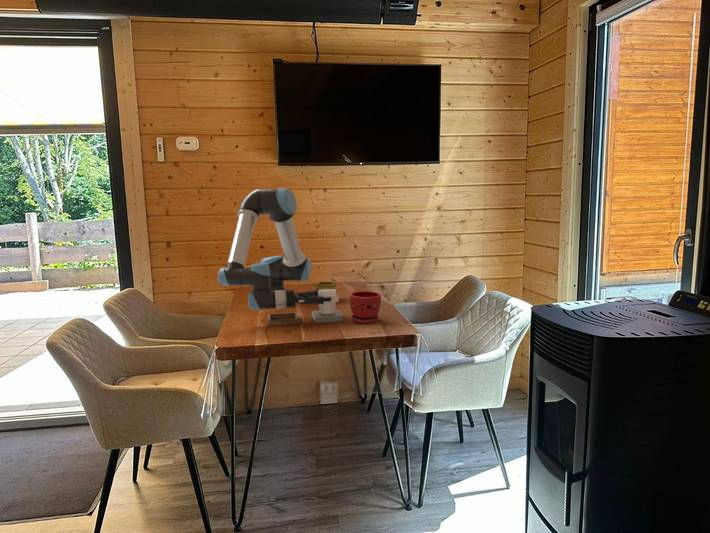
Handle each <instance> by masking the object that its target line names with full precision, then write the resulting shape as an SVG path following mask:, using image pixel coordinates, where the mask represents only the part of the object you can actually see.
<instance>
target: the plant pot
mask: <svg viewBox="0 0 710 533" xmlns="http://www.w3.org/2000/svg"><path fill="white" fill-rule="evenodd" d="M381 300H382V295H381V293H380V292H376V291H372V290H371V291H370V290H365V291H361V290H360V291H359V290H358V291H353V292H351V293H350V294H349V306H350V310H351V313H352V315H351V316H350V319H351V321H353V322H355V323H357V324H358V323H359V324H371V323H375V322H377V321H378V320H379V315H378V314H379V312H380V309H381Z"/></svg>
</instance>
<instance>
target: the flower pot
mask: <svg viewBox="0 0 710 533" xmlns="http://www.w3.org/2000/svg"><path fill="white" fill-rule="evenodd" d="M336 286H337V282H336V281H319V282H316V283H315V290H316V291H317V290H322V289H335V290H336Z"/></svg>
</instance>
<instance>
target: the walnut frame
mask: <svg viewBox="0 0 710 533" xmlns="http://www.w3.org/2000/svg"><path fill="white" fill-rule="evenodd" d="M267 322H268V326H269V327H270V326H285V325H295V324H296V325H297V324H301V318H300V315H299V313H298V312H295V311H294V312H283V313H282V312H280V313H279V312H278V313H267Z"/></svg>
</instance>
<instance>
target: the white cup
mask: <svg viewBox="0 0 710 533" xmlns="http://www.w3.org/2000/svg"><path fill="white" fill-rule="evenodd" d="M330 295H337V289H336V288H335V289H322V290H318V296H319V297H323V296H330ZM336 304H337V302H325V303H324V304H323V305H322V304H318V307H319V311H320V314H334V313H335V310H336V306H337V305H336Z"/></svg>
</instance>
